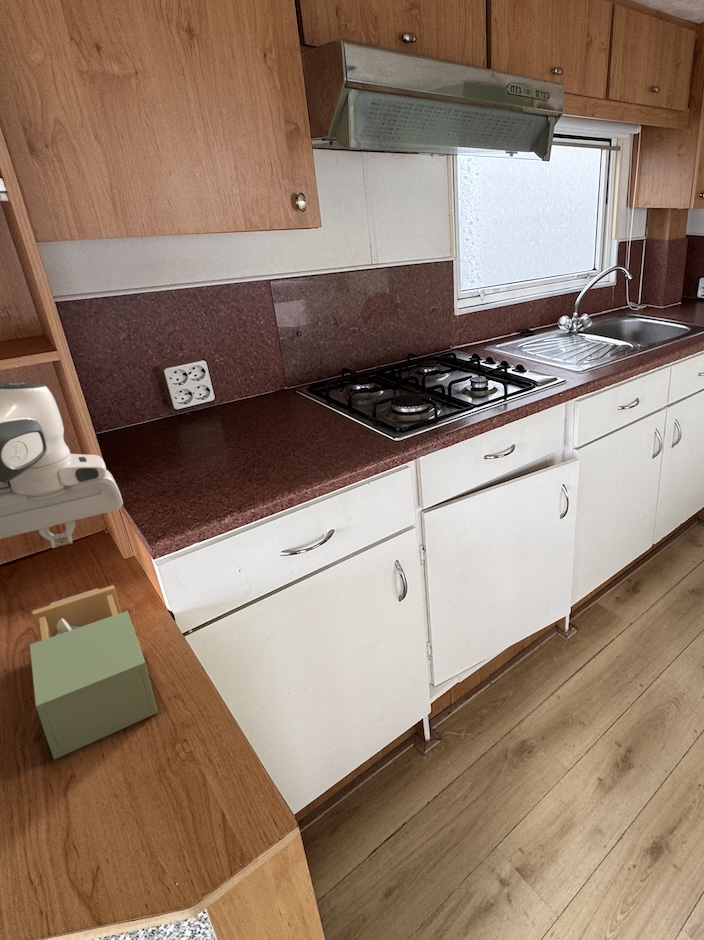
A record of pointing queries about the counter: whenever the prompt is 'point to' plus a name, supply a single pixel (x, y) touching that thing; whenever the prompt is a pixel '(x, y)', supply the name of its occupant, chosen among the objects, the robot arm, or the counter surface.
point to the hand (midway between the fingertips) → (62, 544)
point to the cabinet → (90, 683)
